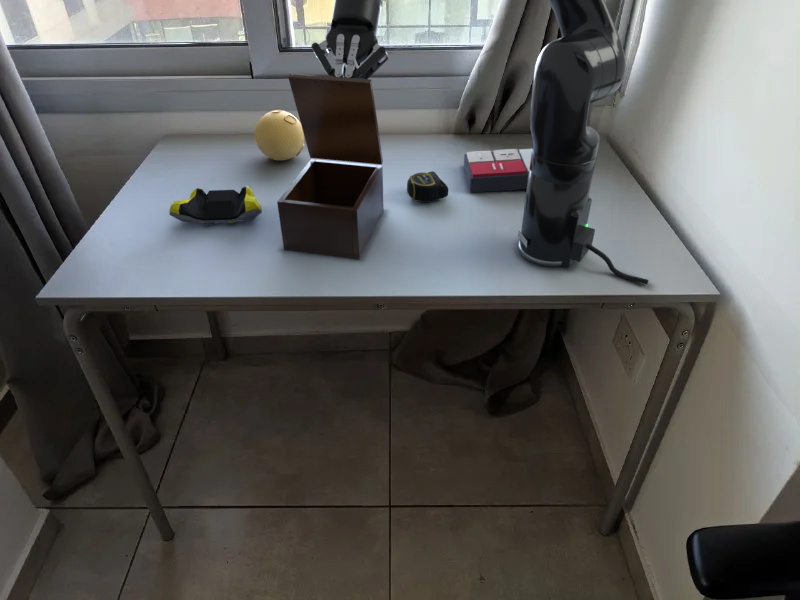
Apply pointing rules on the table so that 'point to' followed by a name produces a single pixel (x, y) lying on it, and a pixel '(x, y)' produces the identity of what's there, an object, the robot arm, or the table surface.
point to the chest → (332, 208)
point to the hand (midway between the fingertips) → (340, 103)
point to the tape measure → (426, 187)
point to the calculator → (497, 169)
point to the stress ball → (279, 135)
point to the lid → (338, 117)
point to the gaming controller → (217, 206)
